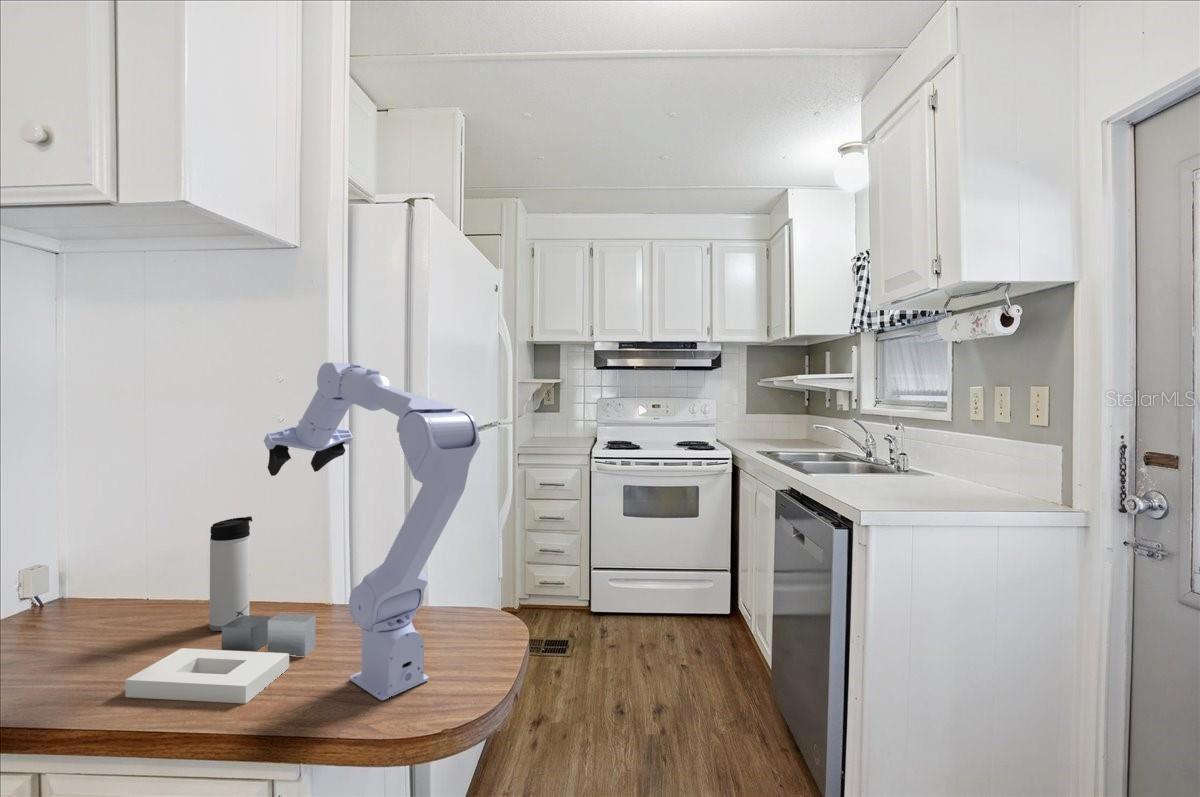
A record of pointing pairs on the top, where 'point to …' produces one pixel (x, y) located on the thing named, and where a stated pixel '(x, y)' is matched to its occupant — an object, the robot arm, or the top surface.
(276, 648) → the blocky grey bit
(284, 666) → the slot board
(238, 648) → the square bit
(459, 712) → the top surface
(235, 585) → the travel mug
